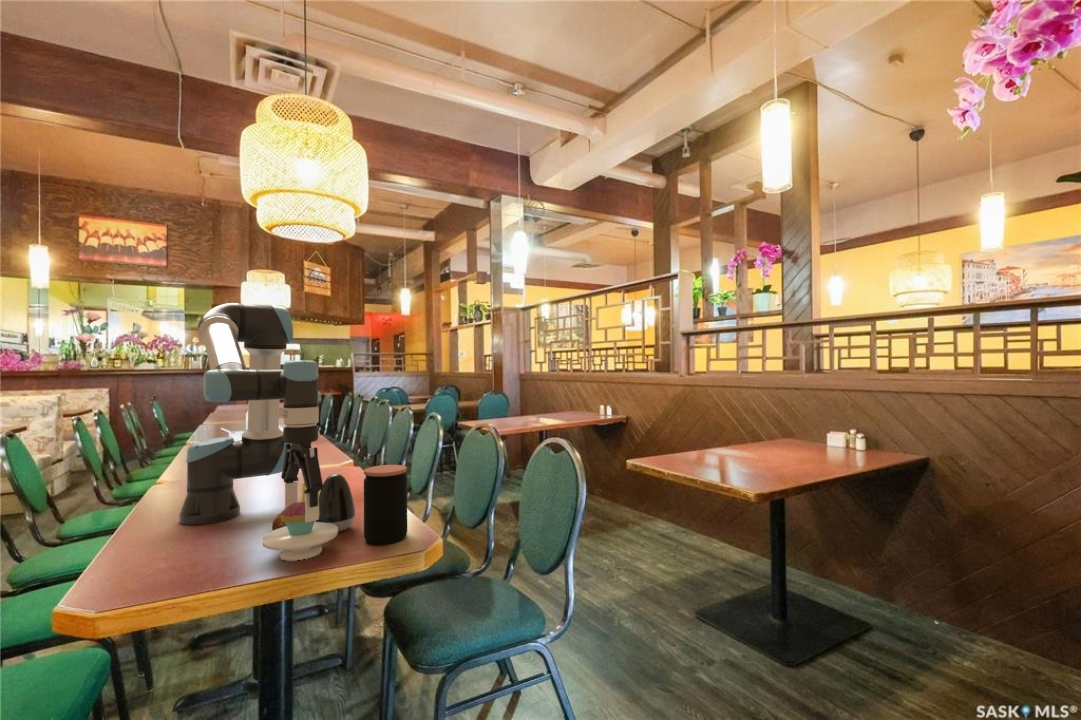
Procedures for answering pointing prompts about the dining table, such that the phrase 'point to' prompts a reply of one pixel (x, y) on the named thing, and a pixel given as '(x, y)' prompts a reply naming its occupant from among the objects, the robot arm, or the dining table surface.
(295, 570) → the dining table surface
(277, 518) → the bread roll
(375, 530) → the coffee jar
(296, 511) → the cupcake
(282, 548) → the cake stand
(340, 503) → the black egg shaped dome
